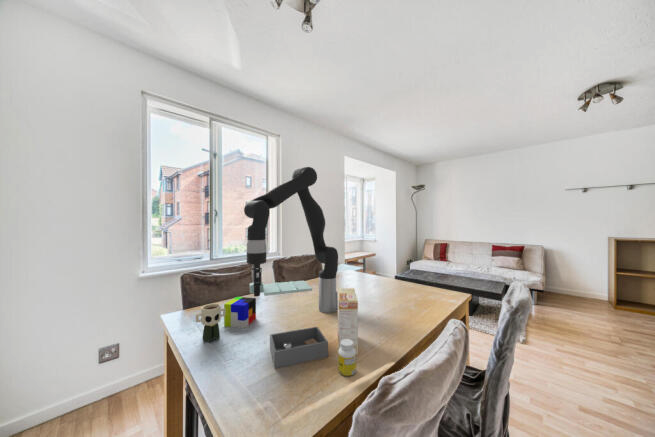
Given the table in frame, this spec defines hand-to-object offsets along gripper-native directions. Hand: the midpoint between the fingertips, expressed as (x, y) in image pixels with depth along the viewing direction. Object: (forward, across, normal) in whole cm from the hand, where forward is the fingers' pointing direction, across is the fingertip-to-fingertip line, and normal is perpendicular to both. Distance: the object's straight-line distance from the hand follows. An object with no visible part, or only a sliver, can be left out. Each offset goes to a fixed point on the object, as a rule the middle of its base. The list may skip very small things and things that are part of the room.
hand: (256, 294), depth 93 cm
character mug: (+18, +7, +17) cm, 26 cm away
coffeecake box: (+18, -16, -32) cm, 40 cm away
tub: (+18, -16, -13) cm, 27 cm away
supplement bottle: (+18, -31, -25) cm, 44 cm away
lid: (-1, 0, -9) cm, 9 cm away
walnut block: (+17, -17, -18) cm, 30 cm away
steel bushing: (+17, -14, -10) cm, 25 cm away
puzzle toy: (+18, +19, +6) cm, 27 cm away
